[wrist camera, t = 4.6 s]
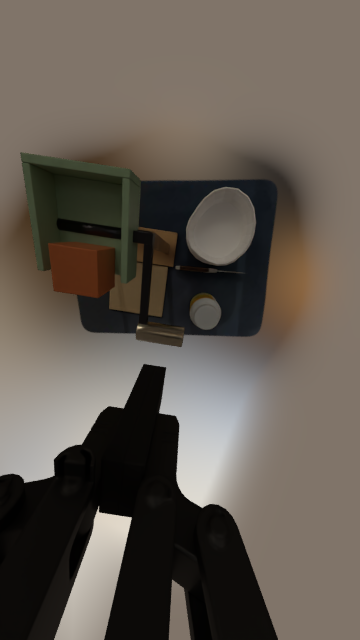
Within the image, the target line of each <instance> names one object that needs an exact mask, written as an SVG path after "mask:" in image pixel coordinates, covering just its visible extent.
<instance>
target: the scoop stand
mask: <svg viewBox="0 0 360 640" xmlns="http://www.w3.org/2000/svg"><path fill="white" fill-rule="evenodd" d="M138 230H144V231H150V232H152V233H155V242H154V251H153V264H158V265H164V266H171V267H173V265H174V258H175V250H176V243H177V235H178V233H174V232H168V231H161V230H155V229H148V228H142V227H138ZM143 250H144V244H140V243H138V247H137V261H138V262H143Z"/></svg>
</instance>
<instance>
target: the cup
mask: <svg viewBox="0 0 360 640" xmlns="http://www.w3.org/2000/svg"><path fill="white" fill-rule="evenodd" d="M255 226H256V218H255V211H254V207H253V205H252V203H251V201H250V199H249V197H248V196H247V195H246V194H244V193H243V192H242V191H241V190H239V189H236V188H229V187H224V188H220V189H217V190H214V191H212V192H211V193H210V194H209V195H207V196H206V197H205V198H204V199H203V200H202V201H201V203H200V204H199V205H198V207H197V208H196V210H195V211H194V213H193V214H192V216H191V217H190V219H189V222H188V225H187V228H186V240H187V245H188V247H189V250H190V252H191V253H192V254H193V255H194V257H195V258H196V259H198V260H200V261H201V262H203V263H207V264H210V265H216V266H221V265H228V264H230V263H232V262H235V261H236V260H237V259H238V258H239V257H240V256H241V255H243V254H244V253H245V252H246V250H247V249H248V248H249V246H250V244H251V242H252V239H253V237H254V233H255Z"/></svg>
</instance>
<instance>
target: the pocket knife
mask: <svg viewBox="0 0 360 640" xmlns="http://www.w3.org/2000/svg"><path fill="white" fill-rule="evenodd" d="M176 269H179V270H186V271H195V272H197V271H198V272H204V273H210V272H211V273H216V272H217V269H212V268H203V267H191V266H176ZM218 272H230V271H220V270H219V271H218ZM232 273H241V272H232Z"/></svg>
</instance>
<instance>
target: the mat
mask: <svg viewBox="0 0 360 640" xmlns="http://www.w3.org/2000/svg"><path fill="white" fill-rule="evenodd" d="M142 266H143V263H139V262H137V267H136V277H135V278H134V279H132V280H131V281H130V282H128V283H127V284H125V283H121V275H115V287H114V288H112V289H111V290H110V304H109V309H113V310H120V311H126V312H133V313H139V314H140V299H141V283H142ZM167 272H168V267H165V266H158V265H152V276H151V288H150V300H149V313H148V315H152V316H159V317H162V312H163V304H164V296H165V288H166V280H167Z"/></svg>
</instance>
